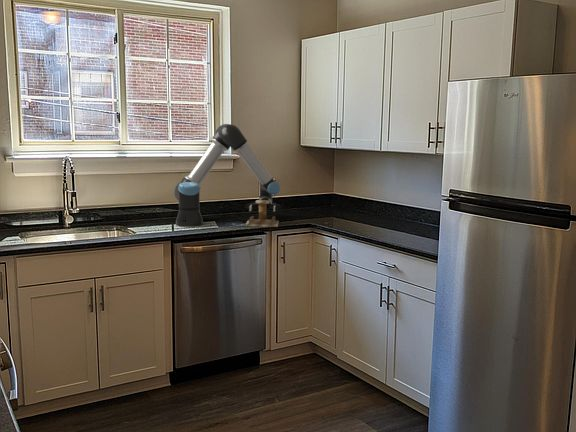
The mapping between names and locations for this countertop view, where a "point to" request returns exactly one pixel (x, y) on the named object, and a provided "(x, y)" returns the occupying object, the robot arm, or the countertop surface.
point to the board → (262, 222)
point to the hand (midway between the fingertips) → (262, 209)
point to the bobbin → (262, 208)
